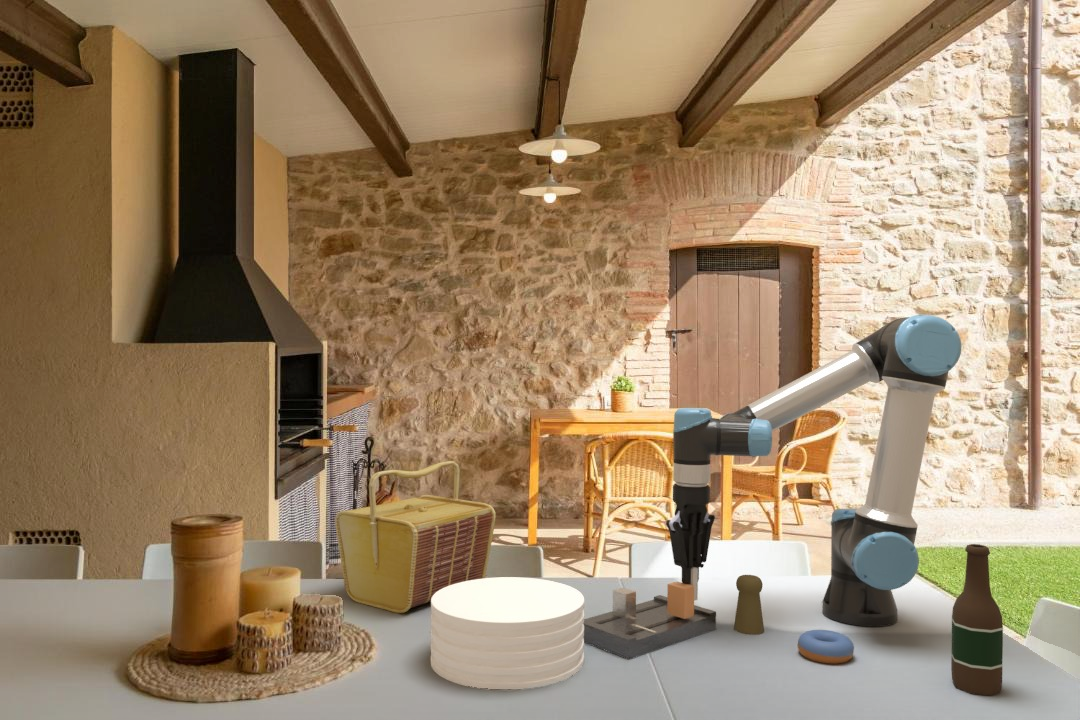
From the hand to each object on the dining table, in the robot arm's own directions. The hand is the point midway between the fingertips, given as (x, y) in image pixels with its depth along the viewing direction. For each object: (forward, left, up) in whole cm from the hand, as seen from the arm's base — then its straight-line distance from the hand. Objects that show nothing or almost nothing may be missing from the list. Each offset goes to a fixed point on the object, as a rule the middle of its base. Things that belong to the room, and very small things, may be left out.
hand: (690, 598), depth 168 cm
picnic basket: (+56, +30, -6) cm, 64 cm away
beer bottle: (-50, -14, -6) cm, 52 cm away
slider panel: (+4, +9, -6) cm, 12 cm away
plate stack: (+11, +39, -7) cm, 41 cm away
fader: (0, +3, -3) cm, 4 cm away
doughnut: (-26, -8, -7) cm, 28 cm away
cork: (-8, -9, -6) cm, 14 cm away
